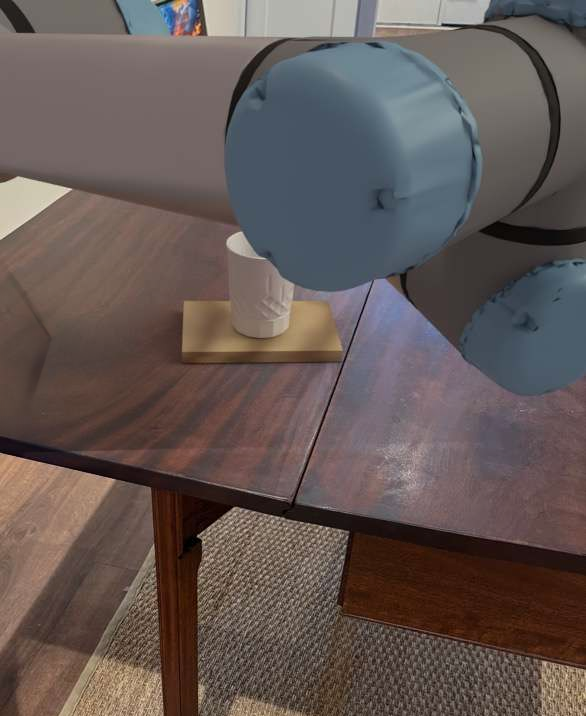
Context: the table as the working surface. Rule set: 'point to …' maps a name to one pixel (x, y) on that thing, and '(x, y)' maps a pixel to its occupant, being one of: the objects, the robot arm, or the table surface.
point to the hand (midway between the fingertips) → (302, 138)
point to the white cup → (256, 291)
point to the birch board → (225, 345)
